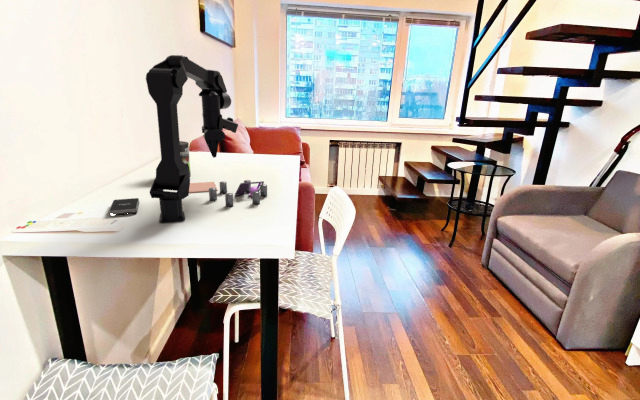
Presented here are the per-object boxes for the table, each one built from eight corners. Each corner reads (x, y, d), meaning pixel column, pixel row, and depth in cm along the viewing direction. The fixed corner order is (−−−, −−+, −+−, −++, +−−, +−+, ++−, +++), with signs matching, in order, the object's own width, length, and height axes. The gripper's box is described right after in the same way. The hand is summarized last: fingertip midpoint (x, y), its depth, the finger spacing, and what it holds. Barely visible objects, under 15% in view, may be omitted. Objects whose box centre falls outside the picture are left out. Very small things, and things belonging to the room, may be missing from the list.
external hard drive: (109, 217, 98) (108, 211, 97) (114, 205, 108) (113, 199, 107) (137, 215, 101) (136, 208, 100) (139, 203, 110) (138, 197, 110)
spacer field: (273, 203, 114) (273, 191, 113) (212, 208, 107) (211, 196, 106) (261, 189, 129) (261, 179, 128) (207, 193, 122) (206, 182, 121)
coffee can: (195, 175, 146) (193, 141, 142) (182, 181, 136) (179, 145, 132) (173, 173, 148) (170, 140, 143) (158, 179, 138) (154, 143, 134)
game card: (233, 193, 121) (256, 190, 127) (238, 205, 119) (261, 202, 125) (239, 181, 117) (263, 179, 122) (245, 193, 115) (268, 191, 120)
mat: (217, 191, 125) (217, 190, 125) (188, 193, 121) (187, 192, 121) (214, 183, 135) (214, 181, 135) (186, 184, 132) (186, 183, 131)
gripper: (240, 113, 110) (241, 161, 115) (232, 108, 127) (234, 151, 132) (203, 112, 106) (206, 162, 111) (200, 108, 123) (203, 152, 128)
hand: (214, 156), depth 121 cm, fingers closed
